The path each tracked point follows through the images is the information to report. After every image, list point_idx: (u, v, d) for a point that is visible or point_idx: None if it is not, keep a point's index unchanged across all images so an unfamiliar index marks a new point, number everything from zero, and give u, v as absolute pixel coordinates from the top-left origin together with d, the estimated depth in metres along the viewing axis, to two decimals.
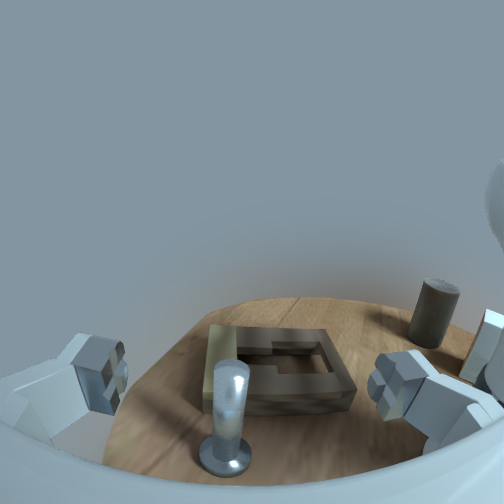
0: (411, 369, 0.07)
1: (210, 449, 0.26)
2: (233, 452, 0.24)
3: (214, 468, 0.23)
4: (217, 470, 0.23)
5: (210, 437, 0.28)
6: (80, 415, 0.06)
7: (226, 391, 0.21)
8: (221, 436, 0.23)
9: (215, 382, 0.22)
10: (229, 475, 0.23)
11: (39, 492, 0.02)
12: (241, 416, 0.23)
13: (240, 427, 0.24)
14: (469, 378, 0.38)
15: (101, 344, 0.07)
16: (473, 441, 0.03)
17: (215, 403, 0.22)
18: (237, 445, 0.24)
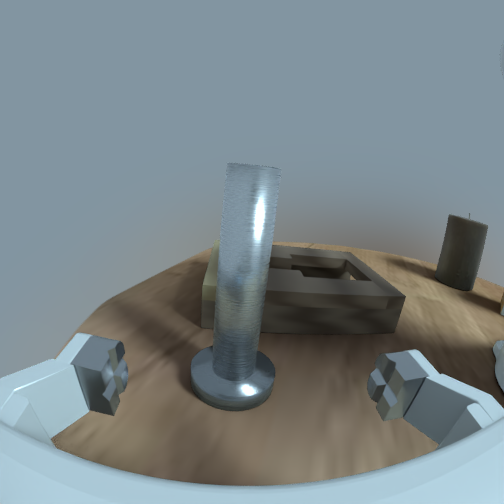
0: (411, 369, 0.07)
1: (209, 363, 0.19)
2: (247, 357, 0.17)
3: (214, 389, 0.16)
4: (219, 392, 0.16)
5: (210, 348, 0.21)
6: (80, 415, 0.06)
7: (246, 188, 0.14)
8: (229, 311, 0.16)
9: (228, 182, 0.15)
10: (240, 404, 0.16)
11: (39, 492, 0.02)
12: (266, 262, 0.16)
13: (262, 294, 0.16)
14: None
15: (101, 344, 0.07)
16: (473, 441, 0.03)
17: (224, 231, 0.15)
18: (255, 341, 0.17)
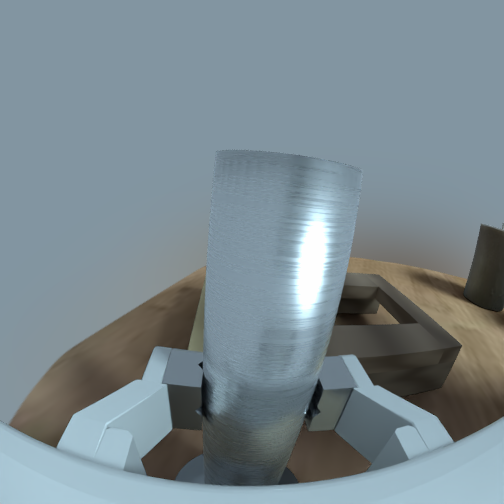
0: (338, 377, 0.07)
1: None
2: None
3: None
4: None
5: (201, 458, 0.11)
6: (164, 435, 0.06)
7: (274, 233, 0.04)
8: (231, 468, 0.06)
9: (217, 207, 0.05)
10: None
11: (39, 492, 0.02)
12: (311, 395, 0.06)
13: (296, 436, 0.07)
14: None
15: (188, 357, 0.07)
16: (473, 441, 0.03)
17: (211, 338, 0.06)
18: None
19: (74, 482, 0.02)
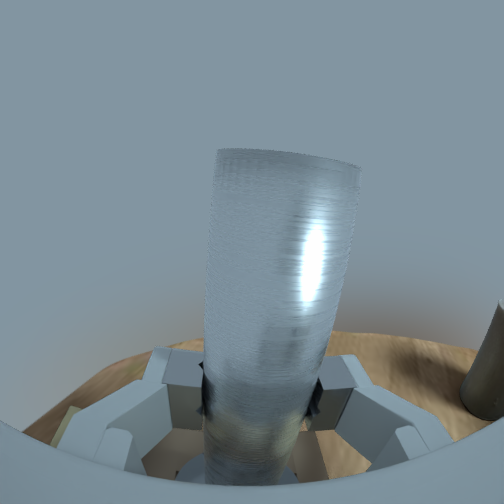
0: (337, 377, 0.07)
1: None
2: None
3: None
4: None
5: (201, 457, 0.11)
6: (164, 435, 0.06)
7: (274, 231, 0.04)
8: (231, 466, 0.06)
9: (217, 205, 0.05)
10: None
11: (39, 492, 0.02)
12: (311, 393, 0.06)
13: (296, 435, 0.07)
14: None
15: (188, 357, 0.07)
16: (473, 441, 0.03)
17: (211, 335, 0.06)
18: (276, 483, 0.08)
19: (74, 482, 0.02)
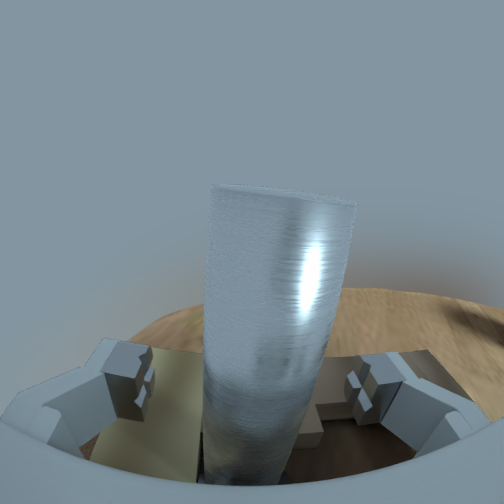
0: (387, 372, 0.07)
1: None
2: None
3: None
4: None
5: (202, 463, 0.11)
6: (108, 423, 0.06)
7: (268, 272, 0.05)
8: (230, 476, 0.07)
9: (213, 242, 0.05)
10: None
11: (39, 492, 0.02)
12: (304, 411, 0.06)
13: (291, 447, 0.07)
14: None
15: (131, 349, 0.07)
16: (473, 441, 0.03)
17: (209, 361, 0.06)
18: None
19: (74, 482, 0.02)
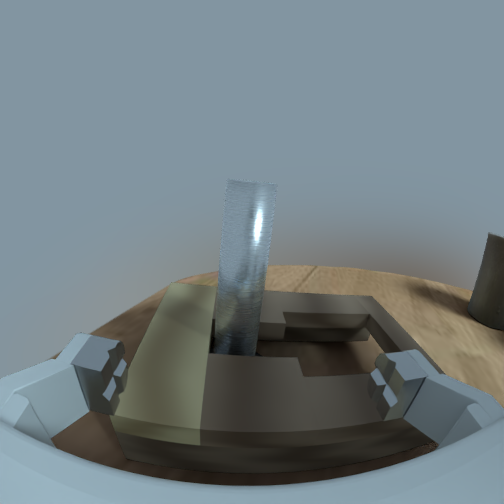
0: (411, 369, 0.07)
1: None
2: None
3: None
4: None
5: (211, 350, 0.22)
6: (80, 415, 0.06)
7: (244, 204, 0.15)
8: (229, 316, 0.17)
9: (227, 197, 0.16)
10: None
11: (39, 492, 0.02)
12: (263, 272, 0.17)
13: (260, 300, 0.18)
14: None
15: (101, 344, 0.07)
16: (473, 441, 0.03)
17: (224, 243, 0.17)
18: (253, 344, 0.18)
19: (74, 482, 0.02)
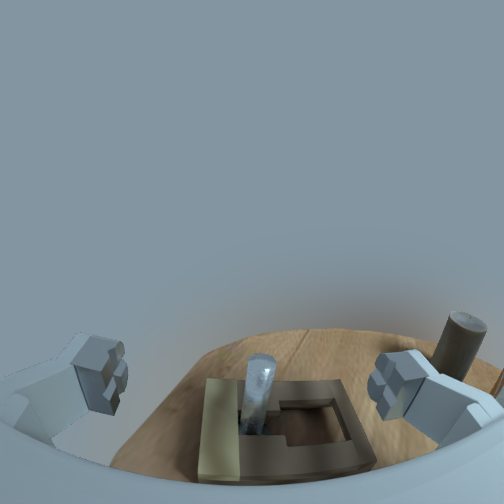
0: (411, 369, 0.07)
1: None
2: (258, 433, 0.30)
3: None
4: None
5: None
6: (80, 415, 0.06)
7: (258, 378, 0.27)
8: (249, 419, 0.29)
9: (249, 372, 0.28)
10: None
11: (39, 492, 0.02)
12: (267, 400, 0.29)
13: (265, 410, 0.30)
14: None
15: (101, 344, 0.07)
16: (473, 441, 0.03)
17: (247, 390, 0.28)
18: (261, 427, 0.30)
19: (74, 482, 0.02)
